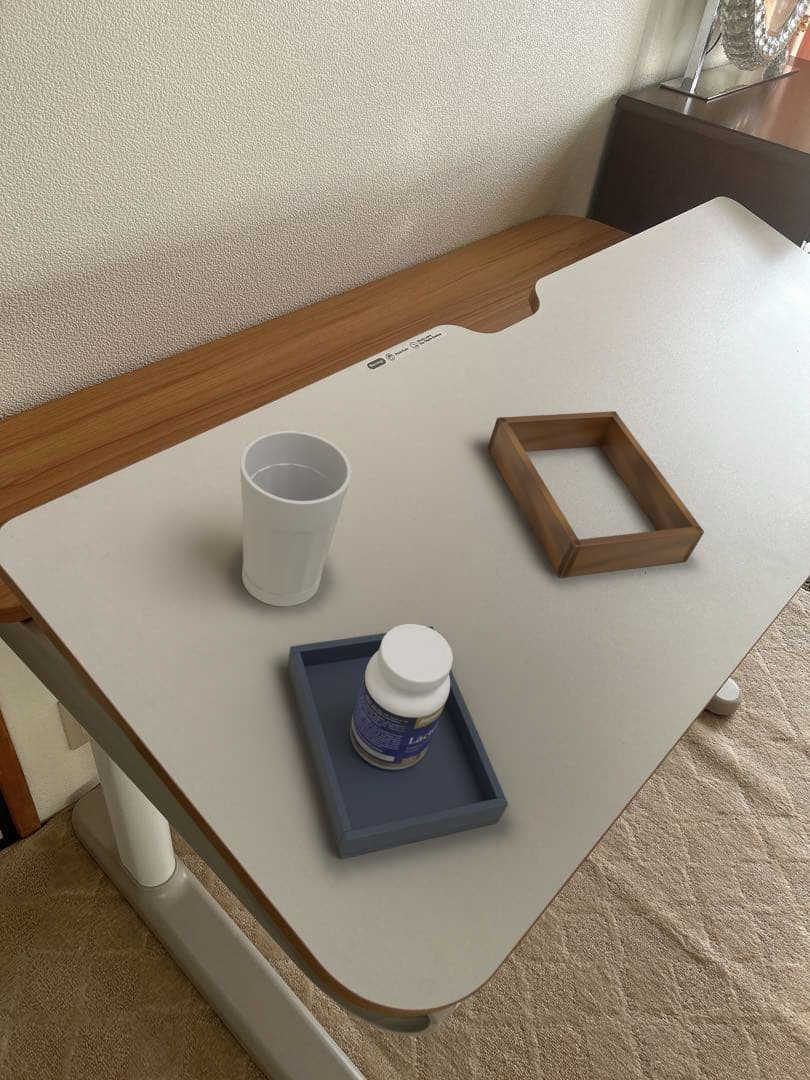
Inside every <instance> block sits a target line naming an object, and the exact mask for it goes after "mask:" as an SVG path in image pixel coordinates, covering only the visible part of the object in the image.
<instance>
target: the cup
mask: <svg viewBox="0 0 810 1080" xmlns="http://www.w3.org/2000/svg"><path fill="white" fill-rule="evenodd" d="M239 462H240V463H239V467H240V491H241V493H240V495H241V501H242V503H241V504H242V505H241V507H242V554H243V555H242V556H243V557H242V558H243V559H242V571H241V572H242V573H241V578H242V583H243V587H244V588H245V589H246V591H247V592H248V593H249V594H250V595H251V596H252V597H253V598H254V599H256V600H258V601H260V602H262V603H264V604H267V605H269V606H274V607H293V606H297V605H301V604H303V603H306V602H308V600H310V599H311V598H312V597H314V595H316V593H317V591H318V590H319V587H320V584H321V580H322V579H321V578H322V573H323V570H324V567H325V563H326V560H327V557H328V553H329V551H330V547H331V543H332V541H333V537H334V534H335V530H336V526H337V524H338V521H339V517H340V514H341V510H342V507H343V504H344V501H345V497H346V494H347V492H348V490H349V489H348V488H349V485H350V482H351V480H352V479H351V478H352V466H351V463H350V460H349V458H348V457H347V455H346V454H345V453H344V452H343V450H342V449H341V448H339V446H338V445H336V444H335V443H333V442H332V441H330V440H328V439H326V438H325V437H323V436H320V435H317V434H314V433H311V432H307V431H300V430H288V429H287V430H276V431H272V432H268V433H265V434H262V435H260V436H258V437H256V438H254V439H253V440H252V441H250V442H249V443H248V444H247V445H246V447H245V448H244V449H243V451H242V453H241V456H240V461H239Z"/></svg>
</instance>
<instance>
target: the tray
mask: <svg viewBox="0 0 810 1080" xmlns="http://www.w3.org/2000/svg"><path fill="white" fill-rule="evenodd" d="M427 627H428V628H431V629H433V630H434V631H435V629H434V627H433V626H427ZM386 634H387V632H381V633H375V634H369V635H361V636H354V637H348V638H347V637H346V638H340V639H333V640H326V641H319V642H312V643H311V642H310V643H306V644H298V645H291V646H290V647H289V653H288V659H287V664H286V665H287V666H286V669H287V673H288V676H289V679H290V683H291V687H292V690H293V694H294V697H295V701H296V705H297V709H298V712H299V715H300V716H299V717H300V720H301V723H302V727H303V730H304V734H305V737H306V740H307V744H308V748H309V752H310V755H311V759H312V762H313V765H314V769H315V773H316V776H317V781H318V784H319V787H320V791H321V794H322V798H323V801H324V805H325V808H326V812H327V816H328V819H329V822H330V826H331V830H332V833H333V836H334V840H335V844H336V848H337V851H338V855H339V858H340V859H341V860H342V859H347V858H351V857H356V856H359V855H364V854H368V853H373V852H377V851H381V850H386V849H390V848H395V847H399V846H403V845H408V844H412V843H415V842H420V841H425V840H428V839H433V838H438V837H442V836H446V835H450V834H455V833H459V832H463V831H468V830H471V829H476V828H480V827H485V826H489V825H493V824H497V823H499V821H500V820H501V818H502V816H503V814H504V813H505V811H506V809H507V807H508V805H509V803H508V801H507V798H506V796H505V793H504V791H503V788H502V787H501V783H500V782H499V779H498V777H497V775H496V772H495V770H494V767H493V765H492V763H491V760H490V758H489V755H488V753H487V751H486V748H485V746H484V744H483V742H482V739H481V737H480V735H479V732H478V730H477V728H476V725H475V723H474V720H473V718H472V716H471V714H470V711H469V709H468V706H467V704H466V702H465V699H464V697H463V694H462V692H461V690H460V688H459V685H458V683H457V680H456V678H455V676H454V673H453V671H452V668H451V669H450V672H449V677H450V691H449V695H448V698H447V701H446V703H445V706H444V708H443V710H442V713H441V715H440V718H439V720H438V723H437V725H436V728H435V731H434V733H433V736H432V738H431V741H430V743H429V746H428V748H427V751H426V752H425V754H424V756H423V757H422V758H421V759H420V760H419V761H418V762H416V763H415V764H413V765H411V766H409V767H407V768H403V769H397V770H389V769H383V768H380V767H377V766H374V765H372V764H370V763H369V762H367V761H366V760H365V759H364V758H362V757H361V756H360V755H359V753H358V752H357V751H356V749H355V747H354V745H353V743H352V741H351V736H350V724H351V720H352V716H353V712H354V709H355V705H356V702H357V699H358V695H359V692H360V688H361V685H362V681H363V678H364V674H365V671H366V668H367V665H368V663H369V661H370V659H371V658H372V656H373V655H374V654H375V653H376V652H377V651H378V650H379V648H380V645H381V642H382V640H383V638H384V636H385V635H386Z"/></svg>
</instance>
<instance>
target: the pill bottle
mask: <svg viewBox="0 0 810 1080" xmlns="http://www.w3.org/2000/svg"><path fill="white" fill-rule="evenodd" d="M428 627H429V626H426V625H422V624H416V623H405V624H399V625H397V626H394V627H393V628H391V629H389V630H388V631H387V632H386V633H387V634H386V635H385V636H384V638H383V640H382V642H381V645H380V648H379V650H378V651H377V652H376V653H375V654H374V655H373V656H372V658H371V659H370V661H369V663H368V665H367V668H366V671H365V674H364V678H363V681H362V685H361V688H360V692H359V695H358V699H357V702H356V705H355V709H354V712H353V716H352V720H351V724H350V736H351V741H352V743H353V745H354V747H355V749H356V751H357V752H358V753H359V755H360V756H361V757H362V758H364V759H365V760H366V761H367V762H369V763H370V764H372V765H374V766H377V767H380V768H383V769H389V770H397V769H403V768H407V767H409V766H411V765H413V764H415V763H416V762H418V761H419V760H420V759H421V758H422V757H423V756H424V754H425V752H426V751H427V748H428V746H429V743H430V741H431V738H432V736H433V733H434V731H435V728H436V725H437V723H438V720H439V718H440V715H441V713H442V710H443V708H444V706H445V703H446V701H447V698H448V695H449V691H450V677H449V672H450V669H451V670H452V666H453V659H454V657H453V651H452V648H451V646H450V644H449V642H448V641H447V640H446V639H445V637H444V636H443V635H442V634H440V633H439V632H437V631H436V630H435V629H434V628H433V629H434V630H433V629H431V628H428Z"/></svg>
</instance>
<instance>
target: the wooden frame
mask: <svg viewBox="0 0 810 1080" xmlns="http://www.w3.org/2000/svg"><path fill="white" fill-rule="evenodd" d="M593 447H599V448H600V449H601V451H602V452H603V453H604V455H605V456H606V458H607V459H608V461H609V462H610V464H611V465H612V466H613V468H614V469H615V471H616V472H617V474H618V475H619V477H620V478H621V479H622V481H623V483H624V484H625V486H626V488H627V489H628V490H629V491H630V493H631V494H632V495H633V497H634V498H635V500H636V501H637V503H638V504H639V505H640V507H641V509H642V510H643V511H644V512H645V514H646V516H647V517H648V519H649V521H650V522H651V523H652V525H653V526H654V528H656V530H652V531H643V532H633V533H625V534H624V533H623V534H616V535H615V534H614V535H607V536H598V537H590V538H581V539H579V538H578V536H577V534H576V533H575V531H574V530H573V528H572V526H571V524H570V523H569V521H568V520H567V518H566V516H565V515H564V513H563V511H562V510H561V508H560V507H559V505H558V503H557V502H556V500H555V498H554V497H553V495H552V493H551V492H550V490H549V488H548V486H546V484H545V482H544V480H543V479H542V477H541V475H540V474H539V472H538V470H537V469H536V466H535V465H534V464H533V462H532V461H531V459H530V457H529V455H528V454H527V452H534V451H550V450H564V449H576V448H577V449H579V448H593ZM486 449H487V451H488V453H489V455H490V457H491V458H492V460H493V462H494V464H495V465H496V467H497V469H498V471H499V472H500V474H501V476H502V478H503V480H504V481H505V483H506V485H507V486H508V488H509V490H510V492H511V493H512V495H513V497H514V499H515V501H516V502H517V505H518V506H519V508H520V509H521V511H522V513H523V514H524V517H525V518H526V520H527V521H528V523H529V525H530V527H531V529H532V531H533V533H534V534H535V536H536V538H537V539H538V541H539V543H540V544H541V547H542V548H543V550H544V552H545V553H546V555H547V557H548V559H549V560H550V563H551V565H552V566H553V568H554V570H555V571H556V573H557V575H558V576H559V578H569V577H576V576H584V575H585V576H586V575H592V574H601V573H607V572H616V571H624V570H631V569H638V568H646V567H655V566H662V565H669V564H678V563H679V564H680V563H685V562H688V560H689V559H690V557H691V555H692V553H693V552H694V550H695V549H696V547H697V545H698V543H699V542H700V540H701V538H702V537H703V535H704V534H705V530H704V529H703V528H702V527H701V524H700V523H699V522H698V521H697V520H696V518H695V517H694V516H693V514H692V513H691V511H690V510H689V509H688V508H687V506H686V505H685V503H684V502H683V501H682V500H681V498H680V496H679V495H678V494H677V492H675V490H674V488H673V487H672V485H670V483H669V482H668V480H667V479H666V478H665V476H664V475H663V473H662V472H661V471H660V470H659V468H658V467H657V466H656V464H655V463H654V461H653V460H652V459H651V457H650V456H649V455H648V453H647V452H646V450H645V449H644V448H643V447H642V445H641V443H640V442H638V440H637V439H636V437H635V436H634V435H633V433H632V432H631V431H630V429H629V428H628V426H627V425H626V424H625V422H624V421H623V419H622V418H621V417H620V416H619V414H618V413H617V411H616V410H613V411H596V412H595V411H591V412H576V413H558V414H554V413H553V414H540V415H521V416H502V417H501V416H500V417H496V420H495V423H494V426H493V429H492V433H491V435H490V438H489V441H488V445H487V448H486Z"/></svg>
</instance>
